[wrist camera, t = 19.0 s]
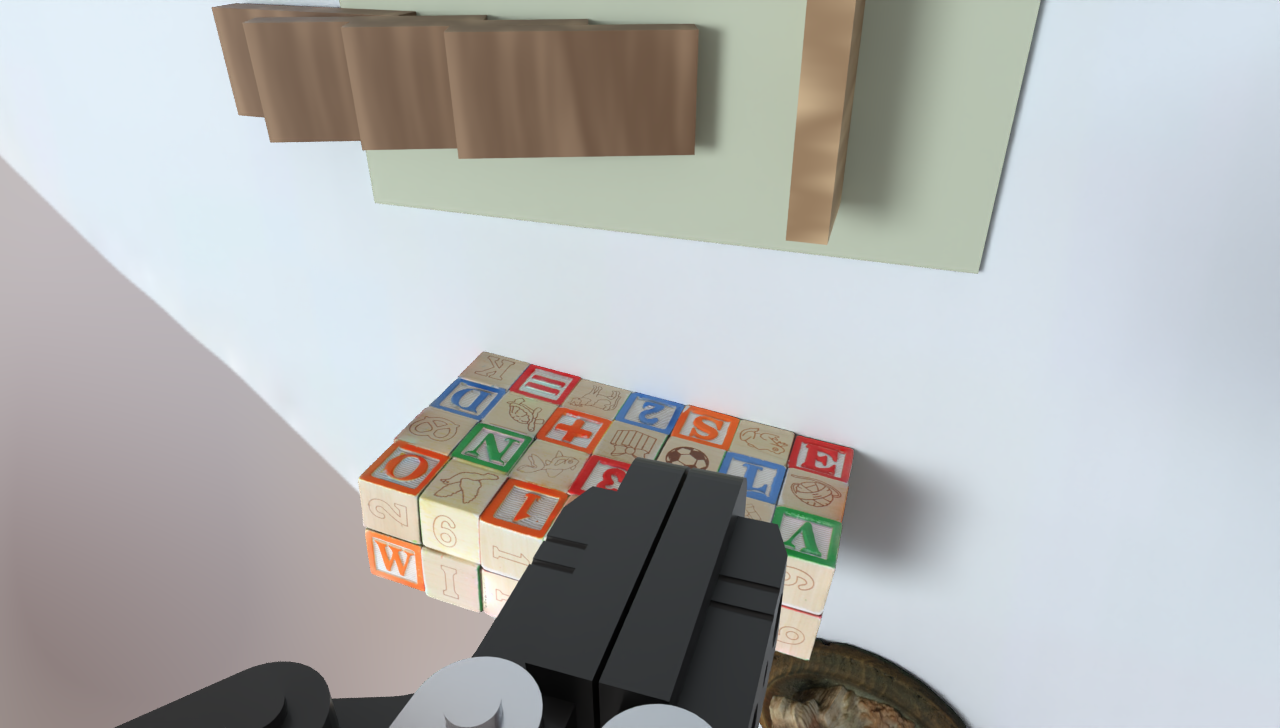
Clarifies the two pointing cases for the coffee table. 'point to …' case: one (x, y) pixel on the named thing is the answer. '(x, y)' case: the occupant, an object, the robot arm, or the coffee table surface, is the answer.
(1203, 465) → the coffee table surface
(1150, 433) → the coffee table surface
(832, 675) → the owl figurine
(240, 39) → the domino
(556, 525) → the robot arm
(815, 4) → the domino
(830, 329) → the coffee table surface
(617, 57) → the domino
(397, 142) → the domino
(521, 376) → the stack of blocks
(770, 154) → the mat
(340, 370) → the coffee table surface
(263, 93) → the domino
